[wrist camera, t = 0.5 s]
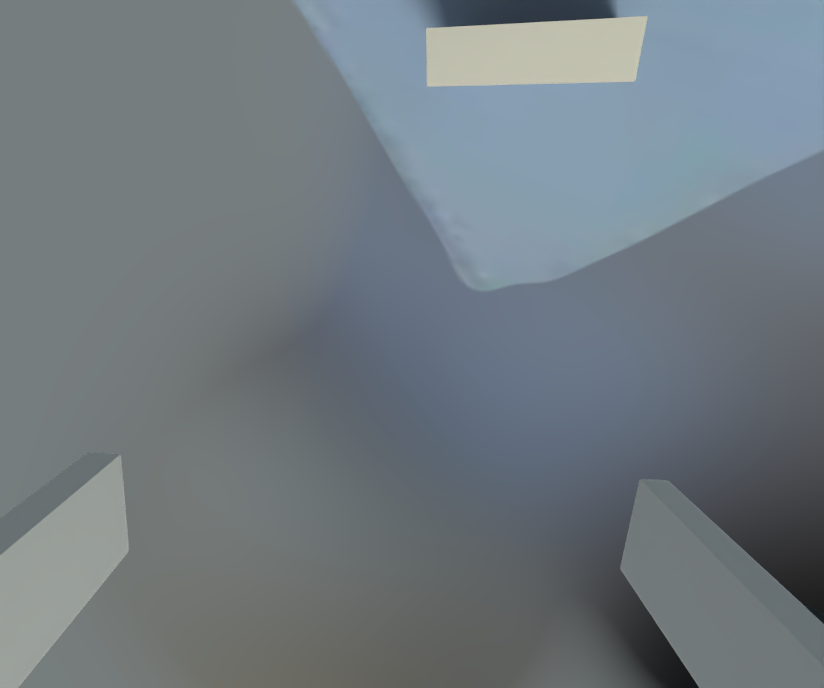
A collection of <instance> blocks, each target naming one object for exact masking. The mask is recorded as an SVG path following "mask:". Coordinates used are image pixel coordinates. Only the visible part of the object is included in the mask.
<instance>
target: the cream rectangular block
mask: <svg viewBox="0 0 824 688" xmlns="http://www.w3.org/2000/svg"><path fill="white" fill-rule="evenodd" d="M647 17H648V16H642V17H624V18H605V19H587V20H568V21H550V22H532V23H513V24H495V25H477V26H458V27H440V28H426V41H427V87H429V86H471V85H512V84H554V83H595V82H635V79H636V74H637V69H638V64H639V59H640V53H641V48H642V43H643V38H644V33H645V27H646V22H647Z"/></svg>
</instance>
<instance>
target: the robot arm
mask: <svg viewBox="0 0 824 688" xmlns="http://www.w3.org/2000/svg"><path fill="white" fill-rule="evenodd" d="M128 551H129V545H128V533H127V522H126V510H125V498H124V487H123V475H122V464H121V455H120V454H106V453H87V454H86V455H84V456H83V457H82V458H80V459H79V460H78V461H76V462H75V463H74V464H72V465H71V466H70V467H68V468H67V469H66V470H64V471H63V472H62V473H60V474H59V475H58V476H56V477H55V478H54V479H52V480H51V481H49V482H48V483H47V484H45V485H44V486H43V487H41V488H40V489H39V490H37V491H36V492H35V493H33V494H32V495H31V496H29V497H28V498H27V499H25V500H24V501H23V502H21V503H20V504H19V505H17V506H16V507H14V508H13V509H12V510H10V511H9V512H8V513H6V514H5V515H4V516H2V517H1V518H0V688H18V687H19V686H20V685H21V683H22V682H23V681H24V680H25V678H26V677H27V676H28V675H29V674H30V672H31V671H32V670H33V669H34V667H35V666H36V665H37V664H38V662H39V661H40V660H41V659H42V658H43V656H44V655H45V654H46V653H47V651H48V650H49V649H50V648H51V646H52V645H53V644H54V643H55V641H56V640H57V639H58V638H59V637H60V635H61V634H62V633H63V632H64V630H65V629H66V628H67V627H68V625H69V624H70V623H71V622H72V621H73V619H74V618H75V617H76V616H77V614H78V613H79V612H80V611H81V609H82V608H83V607H84V605H85V604H86V603H87V602H88V601H89V600H90V598H91V597H92V596H93V595H94V593H95V592H96V591H97V590H98V588H99V587H100V586H101V585H102V584H103V582H104V581H105V580H106V579H107V577H108V576H109V575H110V574H111V572H112V571H113V570H114V568H115V567H116V566H117V565H118V564H119V562H120V561H121V560H122V559H123V558H124V556H125V555H126V554H127V553H128ZM620 569H621V571H622V572H623V574H624V575H625V577H626V578H627V580H628V581H629V583H630V584H631V586H632V587H633V588H634V590H635V592H636V593H637V595H638V596H639V598H640V599H641V601H642V602H643V604H644V605H645V607H646V608H647V610H648V611H649V613H650V614H651V616H652V617H653V619H654V620H655V622H656V623H657V625H658V626H659V628H660V629H661V631H662V632H663V634H664V635H665V637H666V638H667V640H668V641H669V643H670V644H671V646H672V647H673V649H674V650H675V652H676V653H677V655H678V656H679V658H680V659H681V661H682V662H683V664H684V665H685V667H686V668H687V670H688V671H689V673H690V674H691V676H692V677H693V679H694V680H695V682H696V683H697V685H698V686H699V688H824V614H822V613H821V612H819V611H817V610H816V609H814V608H812V607H805V606H804V605H803V604H801V603H800V602H799V601H798V600H797V599H796V598H795V597H794V596H793V595H792V594H791V593H790V592H789V591H787V590H786V589H785V588H784V587H783V586H782V585H781V584H780V583H779V582H778V581H777V580H776V579H774V578H773V577H772V576H771V575H770V574H769V573H768V572H767V571H766V570H765V569H764V568H762V567H761V566H760V565H759V564H758V563H757V562H756V561H755V560H754V559H753V558H752V557H750V556H749V555H748V554H747V553H746V552H745V551H744V550H743V549H742V548H741V547H739V546H738V544H736V543H735V542H734V541H733V540H732V539H731V538H730V537H729V536H728V535H727V534H726V533H724V532H723V531H722V530H721V529H720V528H719V527H718V526H717V525H716V524H715V523H714V522H713V521H711V520H710V519H709V518H708V517H707V516H706V515H705V514H704V513H703V512H702V511H700V509H698V508H697V507H696V506H695V505H694V504H693V503H692V502H691V501H690V500H689V499H687V498H686V497H685V496H684V495H683V494H682V493H681V492H680V491H679V490H678V489H677V488H675V486H673V485H672V484H671V483H670V482H669V481H668V480H648V479H640V480H639V485H638V490H637V494H636V499H635V503H634V508H633V512H632V517H631V521H630V526H629V530H628V535H627V539H626V544H625V548H624V553H623V557H622V562H621V567H620Z"/></svg>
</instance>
